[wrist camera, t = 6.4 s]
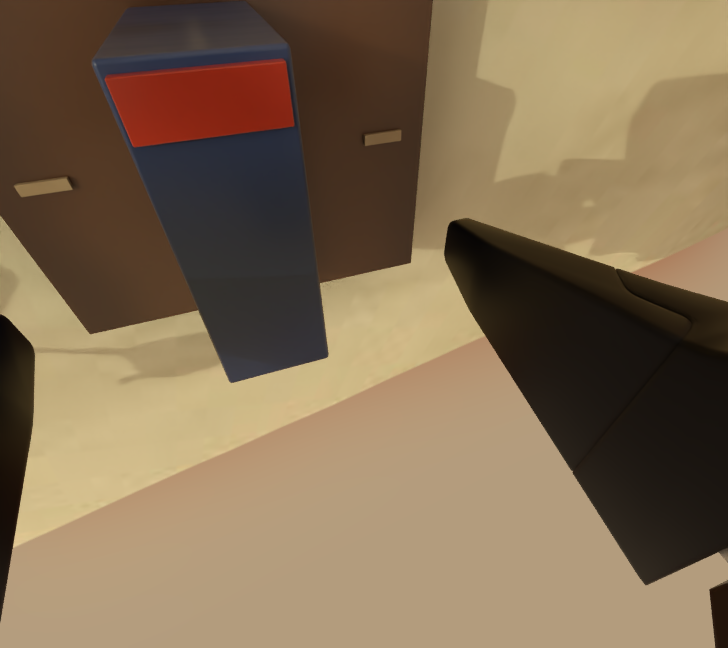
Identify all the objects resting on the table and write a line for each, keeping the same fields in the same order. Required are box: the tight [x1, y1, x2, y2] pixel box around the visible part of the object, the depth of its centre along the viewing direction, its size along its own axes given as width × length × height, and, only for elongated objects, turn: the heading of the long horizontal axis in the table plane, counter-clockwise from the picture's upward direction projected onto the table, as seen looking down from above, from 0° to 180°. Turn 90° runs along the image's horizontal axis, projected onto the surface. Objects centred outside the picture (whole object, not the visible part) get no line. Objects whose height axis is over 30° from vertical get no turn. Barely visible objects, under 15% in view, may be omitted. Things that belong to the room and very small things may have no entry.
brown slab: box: [0, 0, 433, 334], centre depth 14 cm, size 14×12×3 cm
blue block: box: [92, 1, 328, 383], centre depth 11 cm, size 8×3×6 cm, turn 2°
